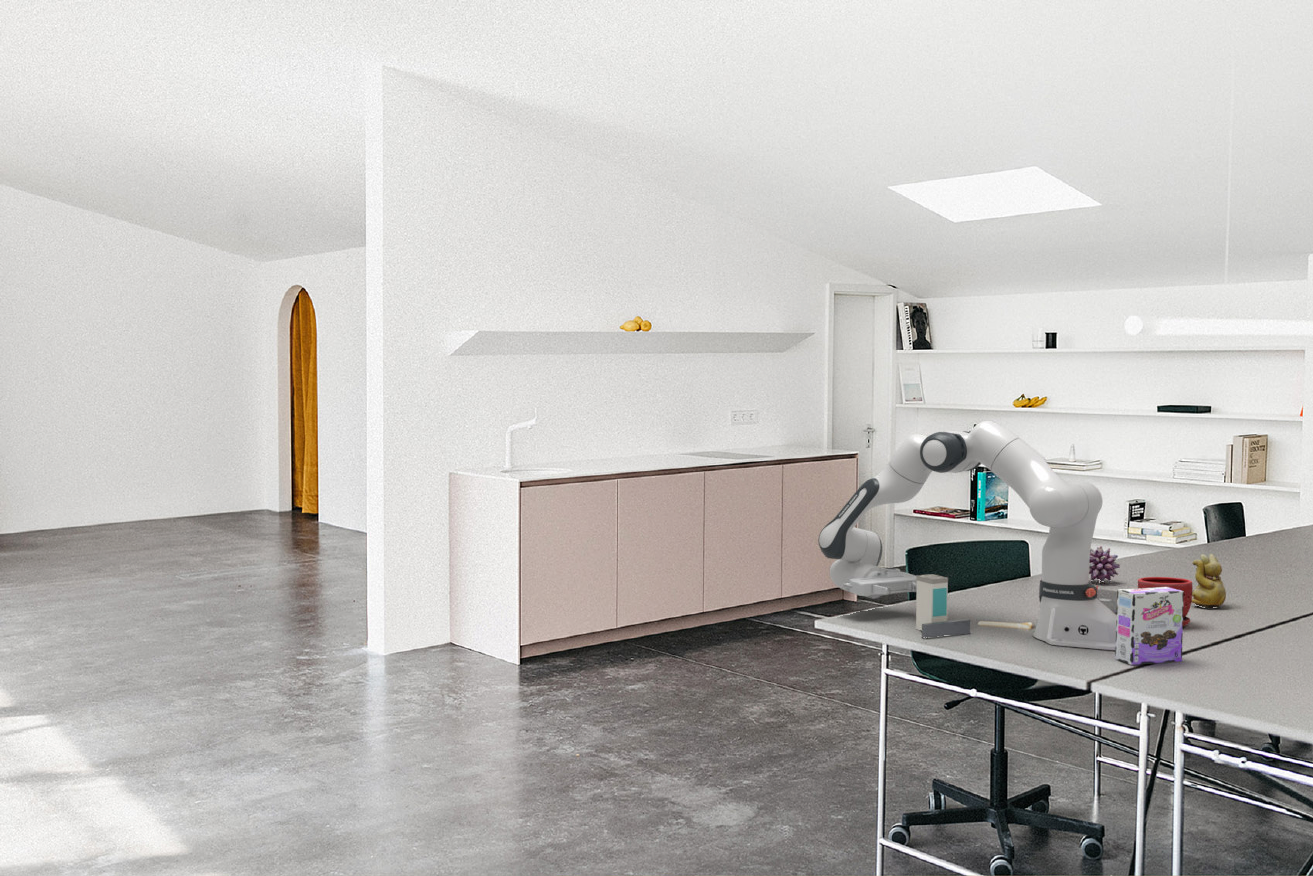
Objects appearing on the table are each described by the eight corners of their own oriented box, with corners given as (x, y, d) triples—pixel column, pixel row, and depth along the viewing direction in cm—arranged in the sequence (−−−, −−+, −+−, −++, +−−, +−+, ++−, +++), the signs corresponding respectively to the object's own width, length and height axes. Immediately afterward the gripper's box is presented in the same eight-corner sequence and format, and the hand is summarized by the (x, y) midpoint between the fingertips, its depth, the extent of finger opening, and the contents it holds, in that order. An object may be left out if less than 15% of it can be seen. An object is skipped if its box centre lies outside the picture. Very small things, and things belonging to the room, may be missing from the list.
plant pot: (1195, 623, 300) (1196, 578, 300) (1186, 632, 289) (1187, 585, 289) (1142, 617, 308) (1143, 573, 307) (1132, 625, 297) (1133, 580, 296)
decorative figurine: (1204, 603, 328) (1205, 551, 327) (1233, 607, 321) (1234, 554, 320) (1186, 607, 322) (1187, 554, 321) (1215, 611, 315) (1216, 557, 315)
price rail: (921, 637, 283) (921, 623, 282) (965, 632, 289) (965, 618, 288) (925, 639, 281) (925, 625, 281) (970, 633, 287) (970, 619, 287)
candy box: (1131, 665, 255) (1133, 592, 254) (1114, 659, 261) (1115, 588, 260) (1183, 662, 259) (1185, 590, 258) (1165, 655, 264) (1166, 585, 263)
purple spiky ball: (1079, 585, 356) (1080, 547, 356) (1081, 579, 367) (1081, 542, 367) (1119, 588, 352) (1120, 549, 351) (1119, 581, 363) (1120, 544, 362)
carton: (931, 628, 294) (932, 574, 293) (947, 632, 288) (948, 577, 287) (915, 629, 292) (916, 575, 291) (931, 634, 286) (932, 579, 285)
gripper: (840, 572, 308) (870, 581, 295) (901, 567, 316) (933, 575, 304) (839, 595, 308) (870, 605, 296) (901, 590, 317) (933, 599, 304)
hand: (903, 590), depth 300 cm, fingers open, 8 cm apart
